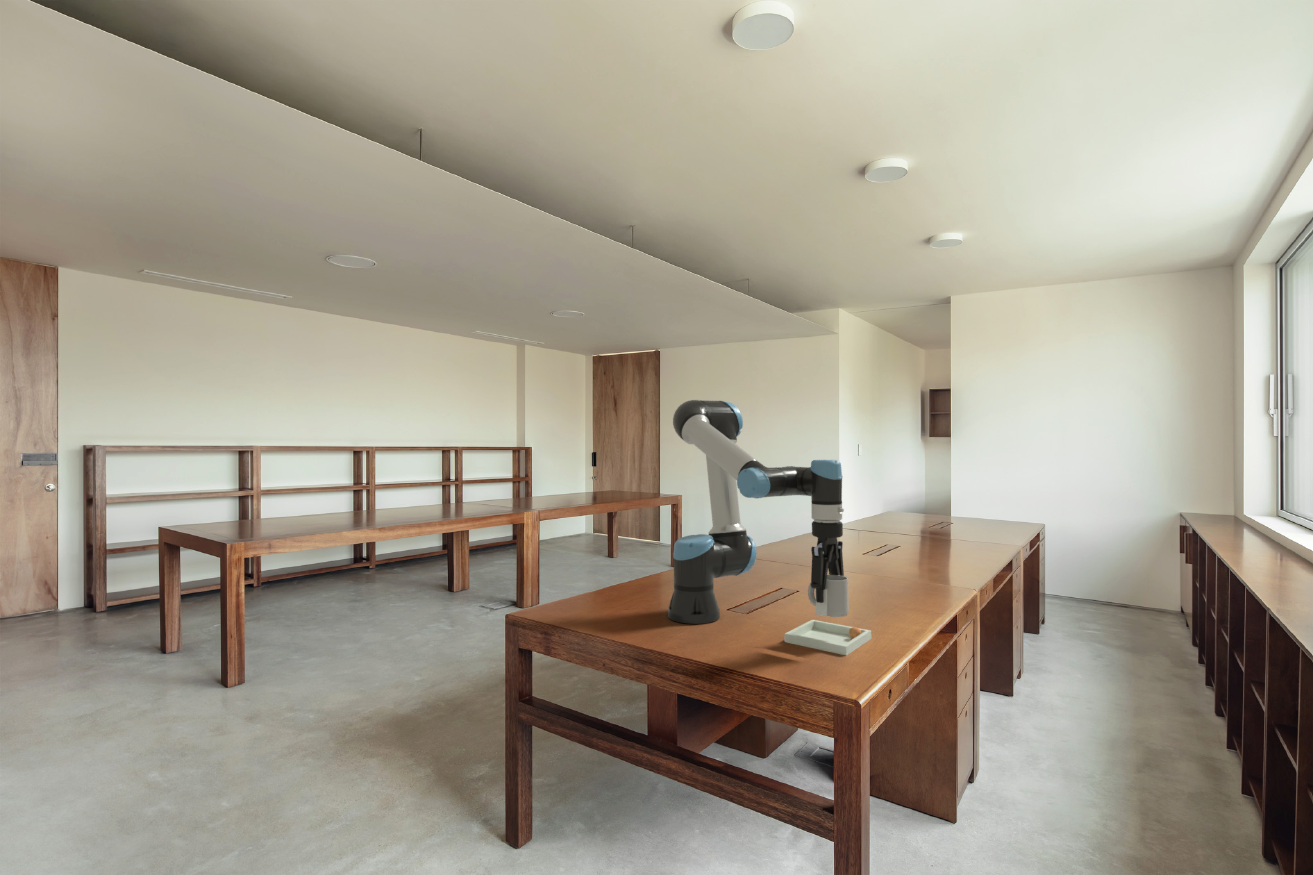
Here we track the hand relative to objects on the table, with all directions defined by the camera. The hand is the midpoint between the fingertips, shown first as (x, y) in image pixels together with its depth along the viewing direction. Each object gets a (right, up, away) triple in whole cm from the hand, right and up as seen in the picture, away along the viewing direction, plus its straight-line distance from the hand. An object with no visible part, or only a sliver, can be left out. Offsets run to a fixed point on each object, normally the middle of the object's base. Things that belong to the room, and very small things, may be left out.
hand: (828, 611), depth 154 cm
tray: (0, -8, 0) cm, 8 cm away
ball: (+7, -7, +1) cm, 10 cm away
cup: (0, 0, 0) cm, 0 cm away
